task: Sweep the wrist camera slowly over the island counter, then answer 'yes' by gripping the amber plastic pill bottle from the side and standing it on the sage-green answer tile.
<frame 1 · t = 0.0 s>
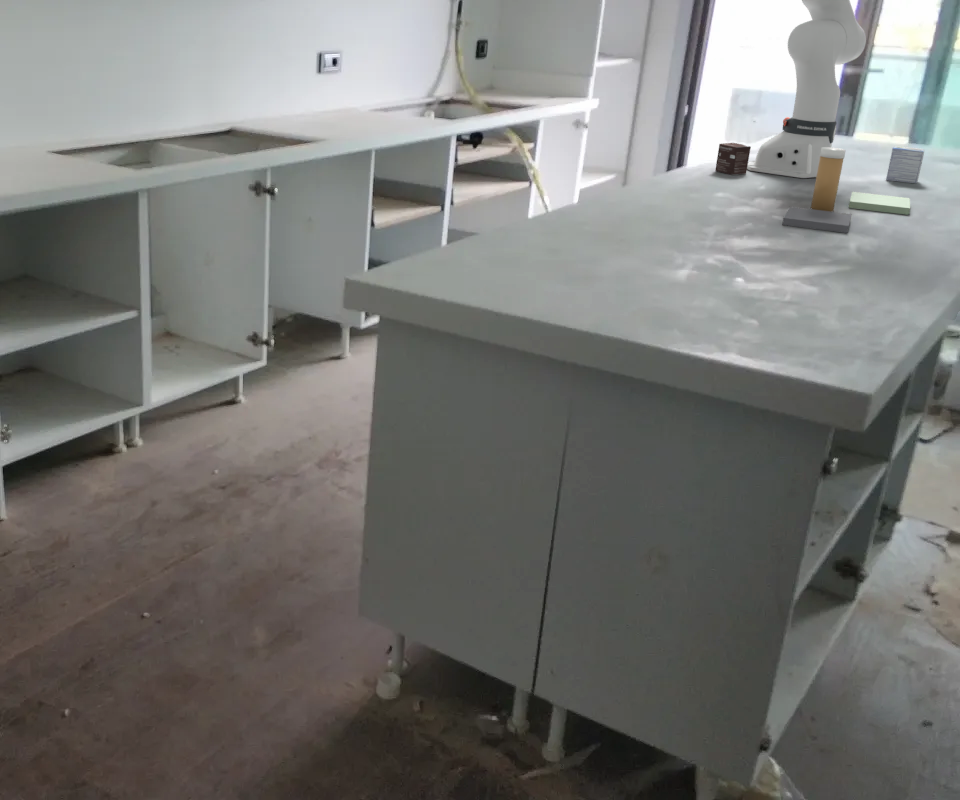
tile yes: (878, 206, 227), on the countertop
medicine box: (901, 181, 261), on the countertop
pill bottle: (822, 209, 221), on the countertop
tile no: (816, 222, 207), on the countertop
box: (730, 173, 260), on the countertop
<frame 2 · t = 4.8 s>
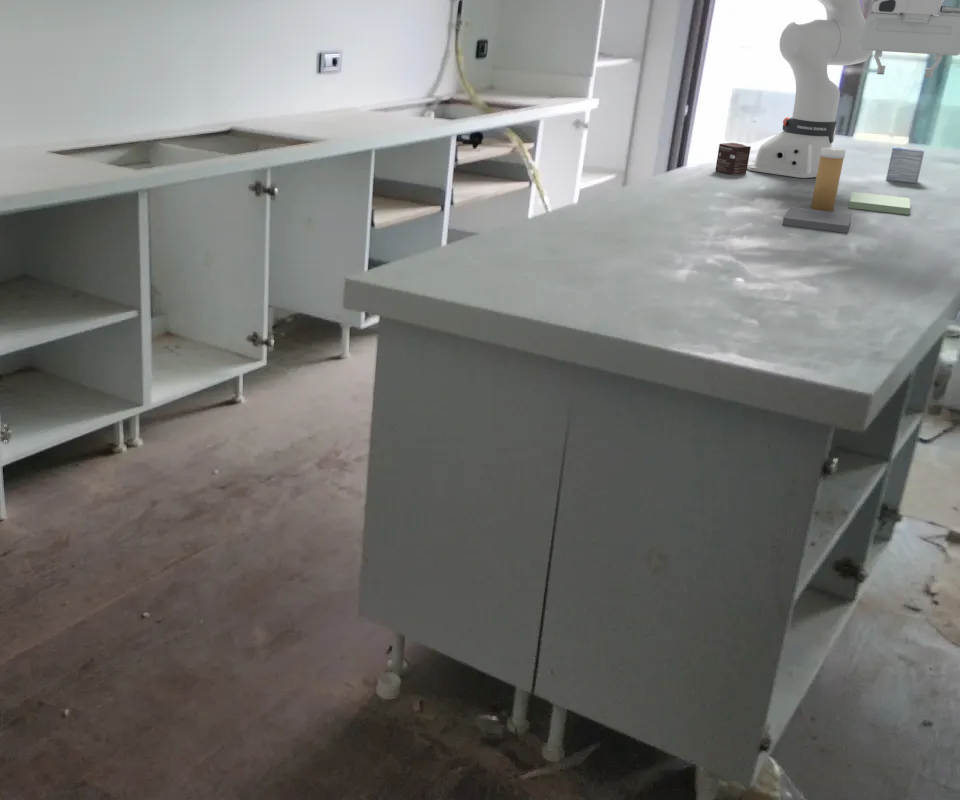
hand: (903, 75, 204), 30 cm above the countertop, tool pointing down, fingers open, 8 cm apart
nothing on the countertop moved.
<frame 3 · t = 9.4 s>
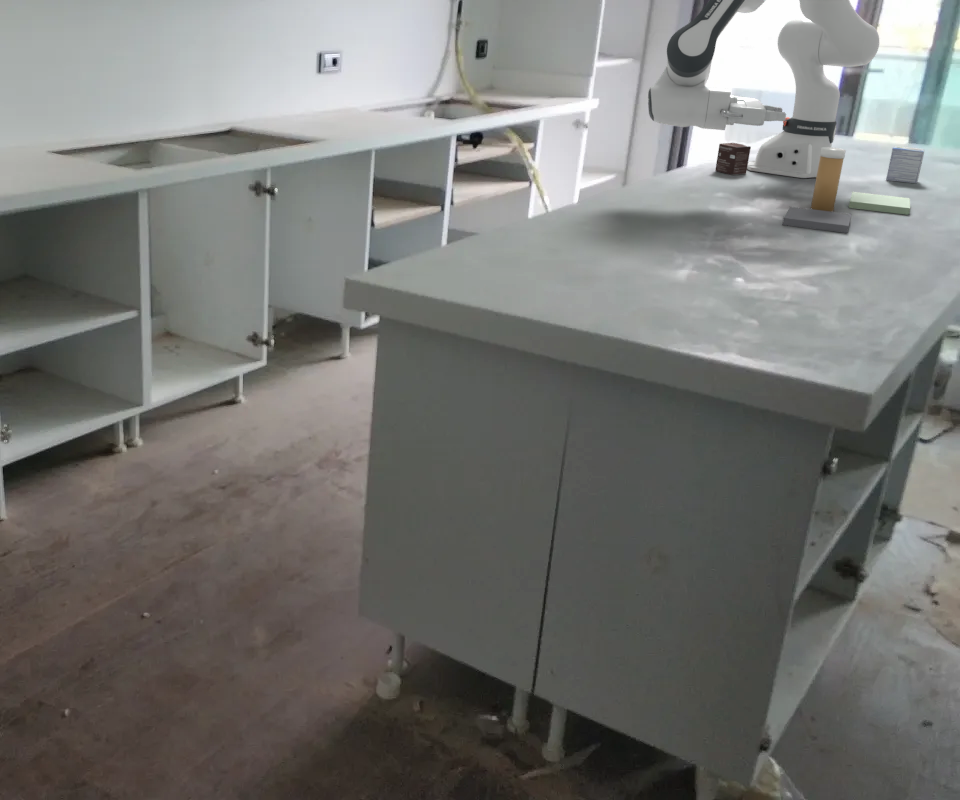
hand: (783, 114, 215), 20 cm above the countertop, tool horizontal, fingers open, 8 cm apart
nothing on the countertop moved.
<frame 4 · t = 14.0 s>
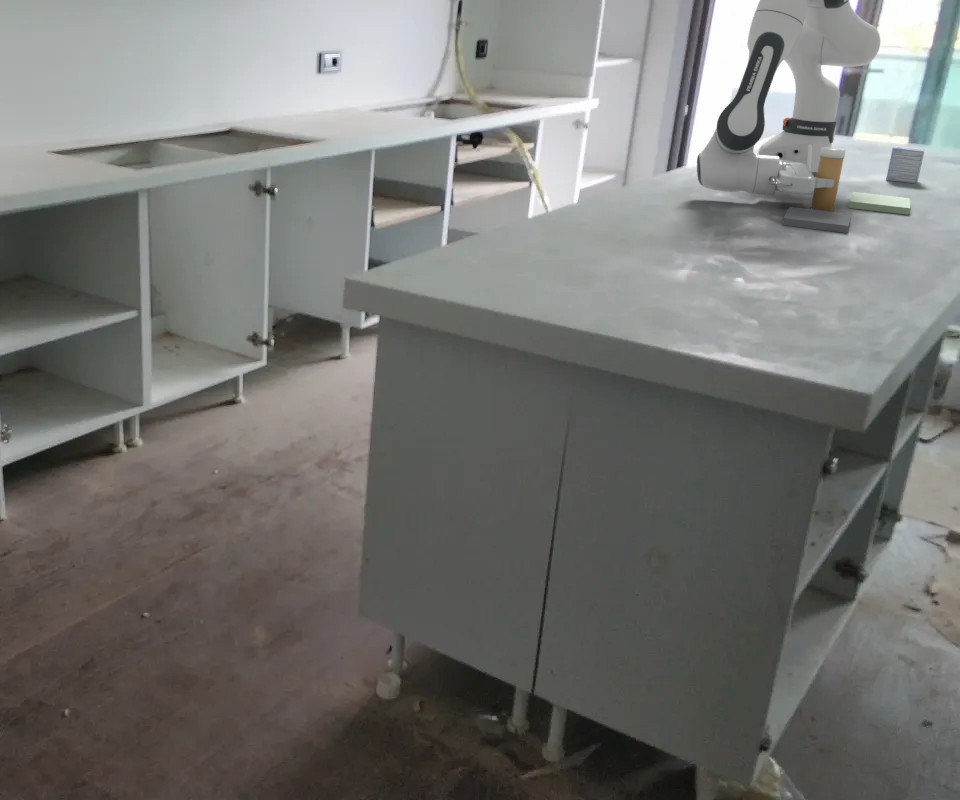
hand: (831, 180, 218), 7 cm above the countertop, tool horizontal, fingers closed on pill bottle, 5 cm apart
pill bottle: (822, 209, 221), on the countertop, touching gripper
everything else where it was.
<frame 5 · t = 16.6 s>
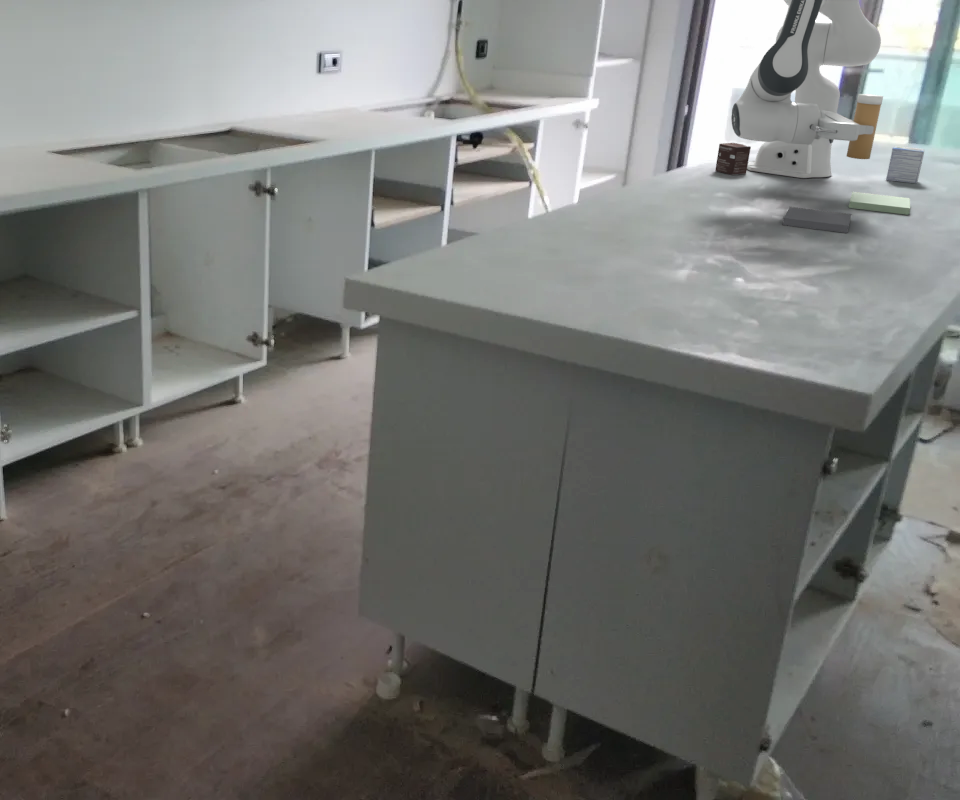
hand: (868, 127, 216), 18 cm above the countertop, tool horizontal, fingers closed on pill bottle, 5 cm apart
pill bottle: (858, 157, 219), point 12 cm above the countertop, touching gripper
everything else where it was.
when the fingers open (9 cm above the countertop, at t = 19.5 s): pill bottle drops 1 cm, resting on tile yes.
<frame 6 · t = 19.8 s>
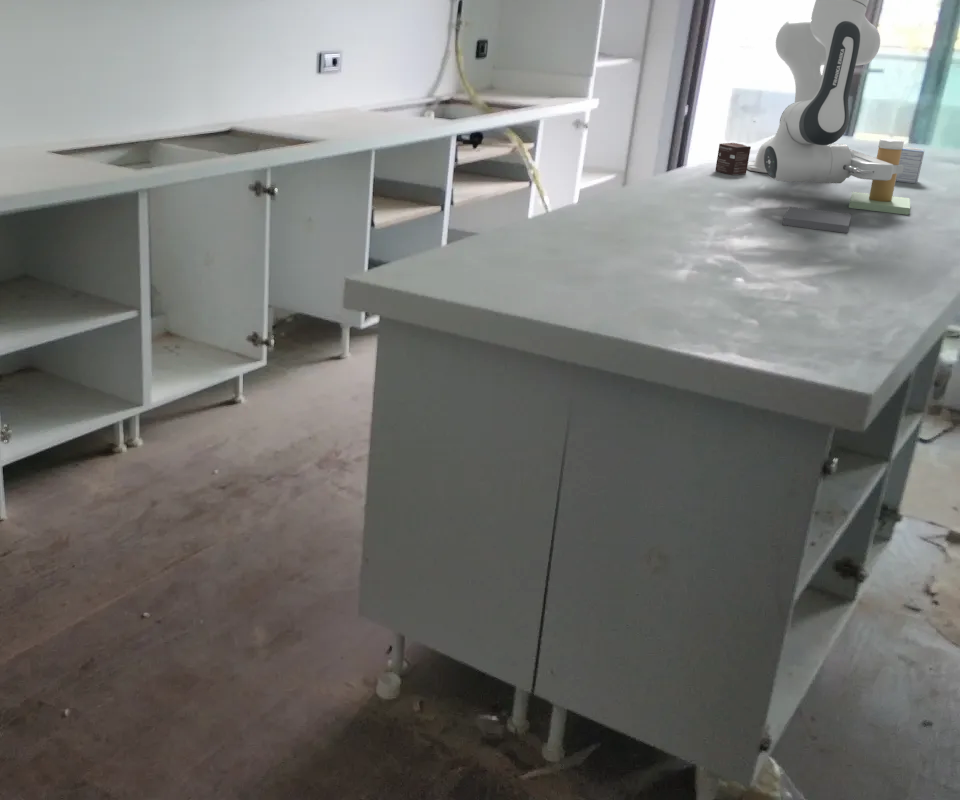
hand: (891, 165, 224), 9 cm above the countertop, tool horizontal, fingers open, 8 cm apart
pill bottle: (880, 199, 227), point 2 cm above the countertop, touching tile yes
everything else where it was.
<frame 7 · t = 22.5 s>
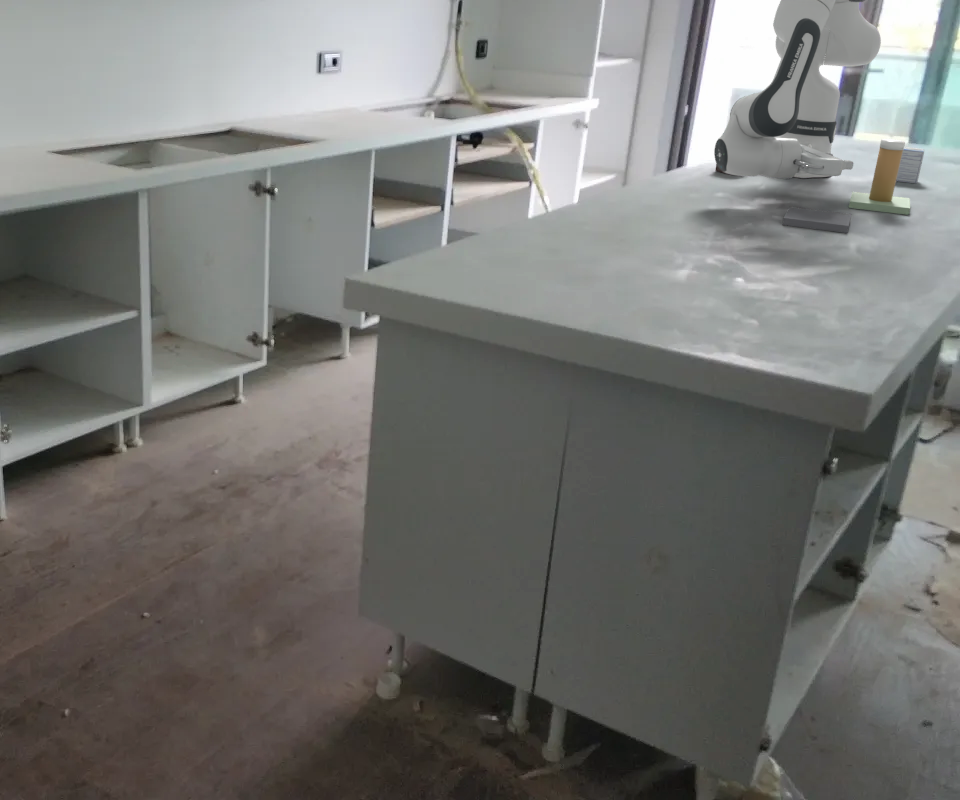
hand: (841, 161, 222), 10 cm above the countertop, tool horizontal, fingers open, 8 cm apart
nothing on the countertop moved.
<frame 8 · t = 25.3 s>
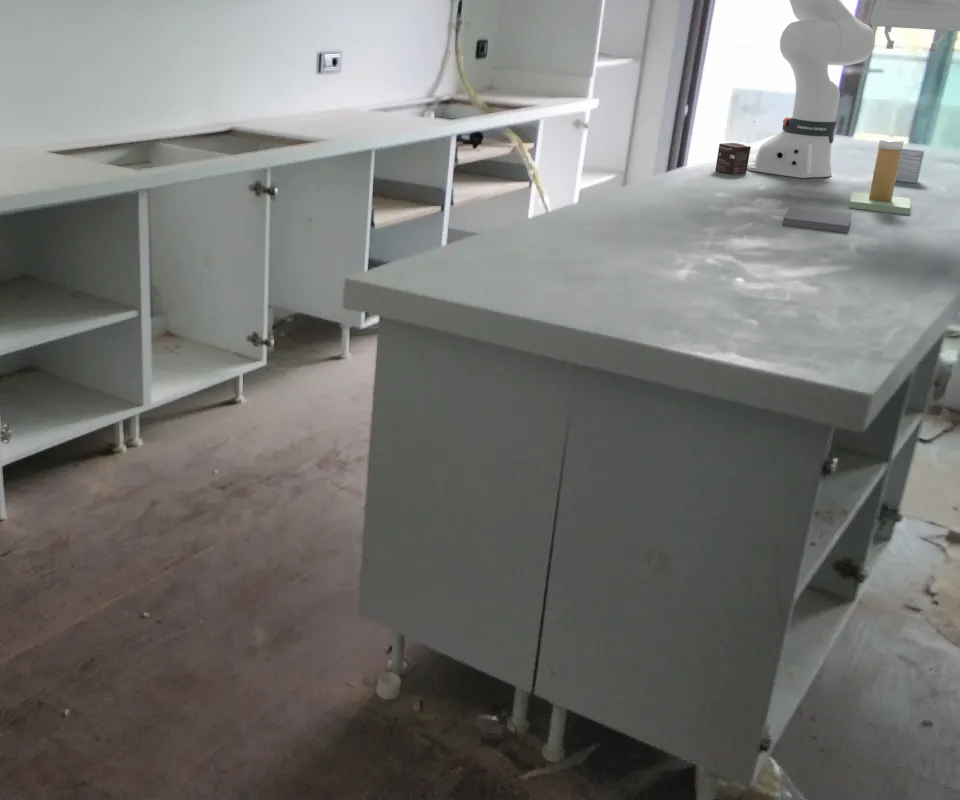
hand: (911, 50, 223), 34 cm above the countertop, tool pointing down, fingers open, 8 cm apart
nothing on the countertop moved.
at the end: pill bottle inside the target area on the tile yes (0.1 cm from its centre), point 1.5 cm above the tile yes's base; pill bottle tilted 1°; the gripper is holding nothing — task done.
